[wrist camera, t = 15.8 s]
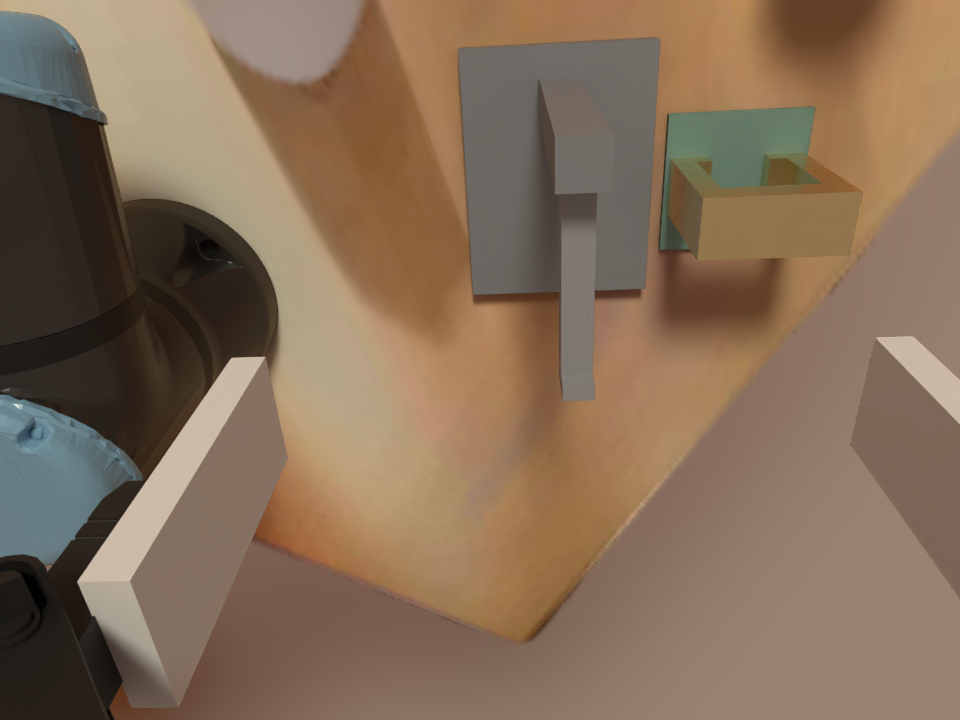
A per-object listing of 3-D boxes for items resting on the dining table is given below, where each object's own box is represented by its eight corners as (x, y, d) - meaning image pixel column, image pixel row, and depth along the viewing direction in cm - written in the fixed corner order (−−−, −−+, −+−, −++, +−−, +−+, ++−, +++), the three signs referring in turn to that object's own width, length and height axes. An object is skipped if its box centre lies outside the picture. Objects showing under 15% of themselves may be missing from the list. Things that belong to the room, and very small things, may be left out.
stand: (473, 288, 52) (460, 429, 37) (459, 47, 45) (434, 95, 29) (642, 282, 52) (701, 423, 36) (656, 37, 44) (740, 80, 28)
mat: (658, 248, 51) (659, 250, 50) (667, 113, 46) (669, 114, 46) (791, 243, 50) (792, 245, 50) (812, 106, 46) (815, 107, 45)
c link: (666, 212, 49) (697, 260, 41) (670, 158, 47) (703, 198, 39) (794, 207, 49) (849, 255, 41) (802, 152, 47) (862, 191, 39)
